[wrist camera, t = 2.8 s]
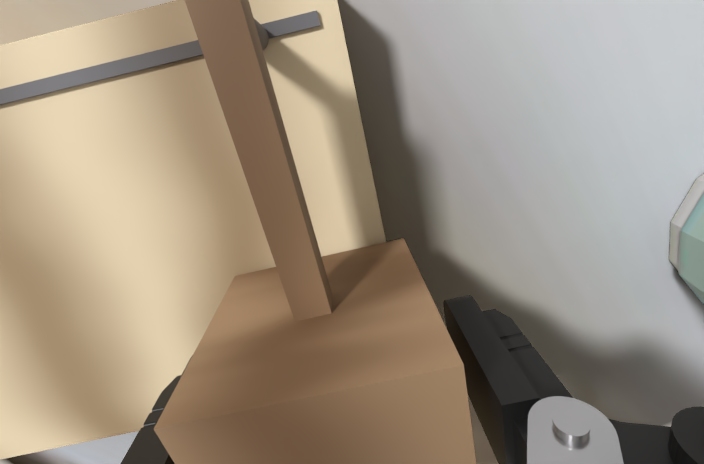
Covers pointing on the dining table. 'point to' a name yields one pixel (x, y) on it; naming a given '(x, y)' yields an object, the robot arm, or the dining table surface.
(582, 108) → the dining table surface
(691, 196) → the disposable coffee cup
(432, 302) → the brown block with handle
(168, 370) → the board
